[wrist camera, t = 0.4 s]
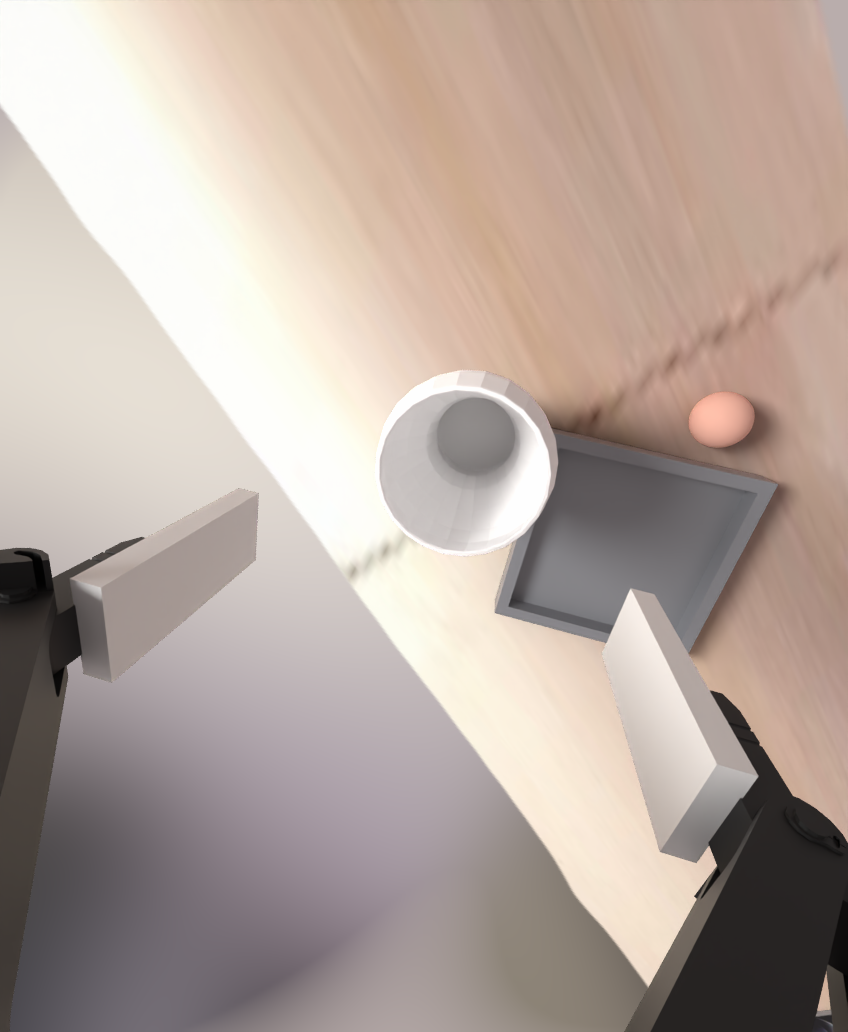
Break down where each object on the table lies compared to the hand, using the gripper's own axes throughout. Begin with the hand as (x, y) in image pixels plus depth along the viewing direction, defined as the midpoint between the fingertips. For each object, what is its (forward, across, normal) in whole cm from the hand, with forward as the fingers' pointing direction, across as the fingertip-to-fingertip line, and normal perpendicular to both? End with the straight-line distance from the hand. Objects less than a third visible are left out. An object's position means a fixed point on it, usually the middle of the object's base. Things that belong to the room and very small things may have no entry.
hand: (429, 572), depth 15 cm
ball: (+24, +17, +6) cm, 30 cm away
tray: (+24, +14, -6) cm, 29 cm away
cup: (+25, 0, 0) cm, 25 cm away
